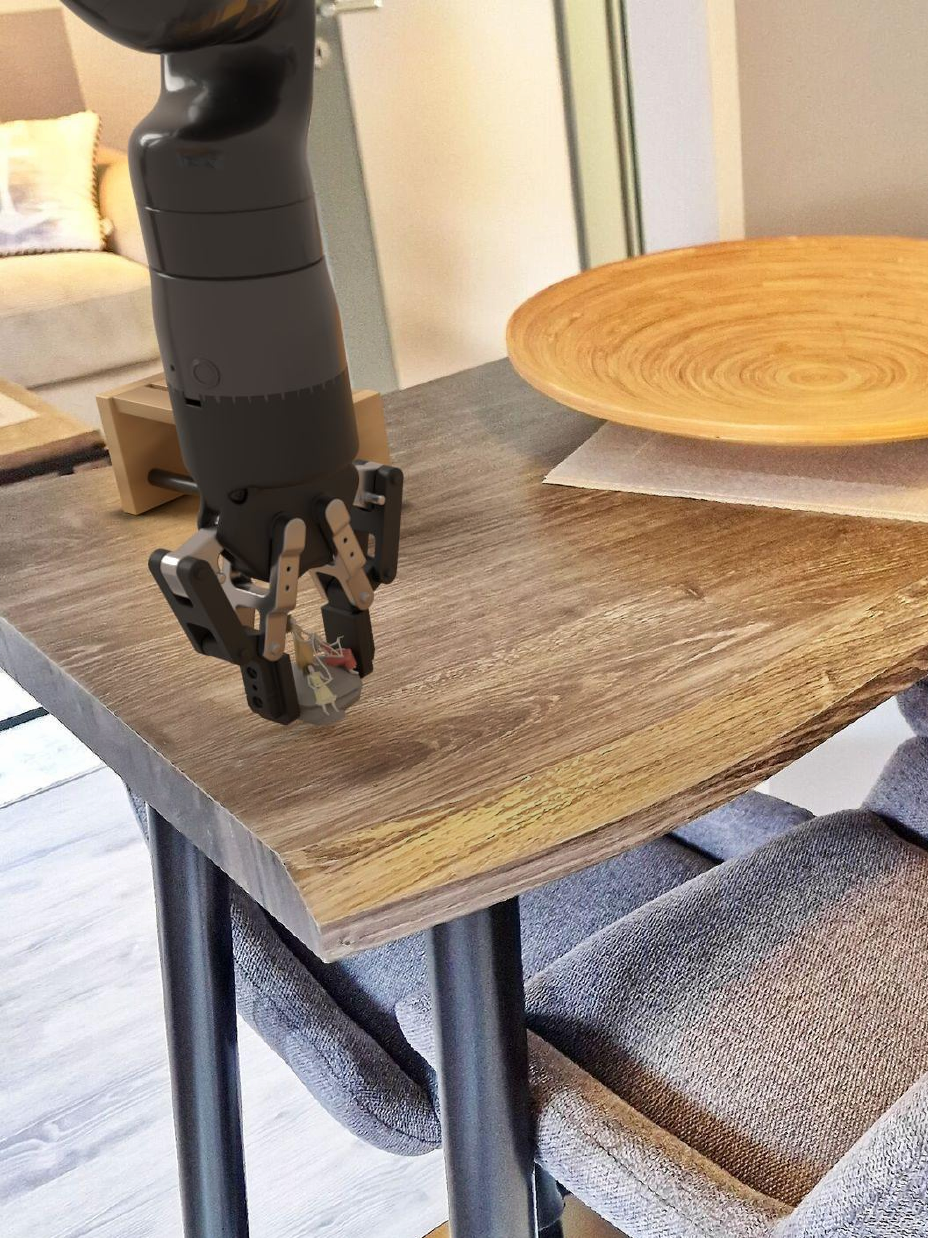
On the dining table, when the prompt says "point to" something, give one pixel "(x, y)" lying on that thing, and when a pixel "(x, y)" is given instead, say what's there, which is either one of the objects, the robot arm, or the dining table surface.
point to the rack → (153, 451)
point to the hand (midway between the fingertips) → (316, 694)
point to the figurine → (323, 678)
